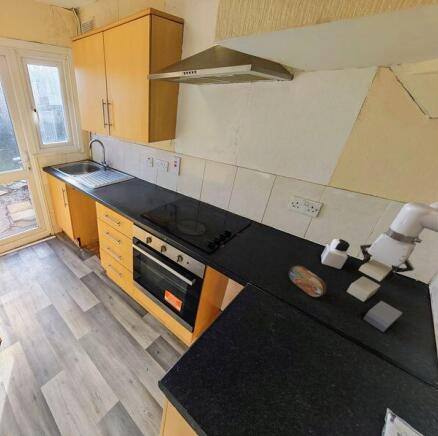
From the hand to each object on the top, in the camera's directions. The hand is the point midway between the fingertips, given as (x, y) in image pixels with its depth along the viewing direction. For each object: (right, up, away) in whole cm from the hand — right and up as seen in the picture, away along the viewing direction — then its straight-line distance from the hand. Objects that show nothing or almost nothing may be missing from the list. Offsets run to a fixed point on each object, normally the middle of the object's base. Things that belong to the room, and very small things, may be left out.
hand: (374, 271), depth 91 cm
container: (+1, -1, +23) cm, 23 cm away
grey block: (-5, -17, -6) cm, 19 cm away
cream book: (0, 0, 0) cm, 0 cm away
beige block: (0, -10, +6) cm, 12 cm away
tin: (-24, -9, +7) cm, 27 cm away
